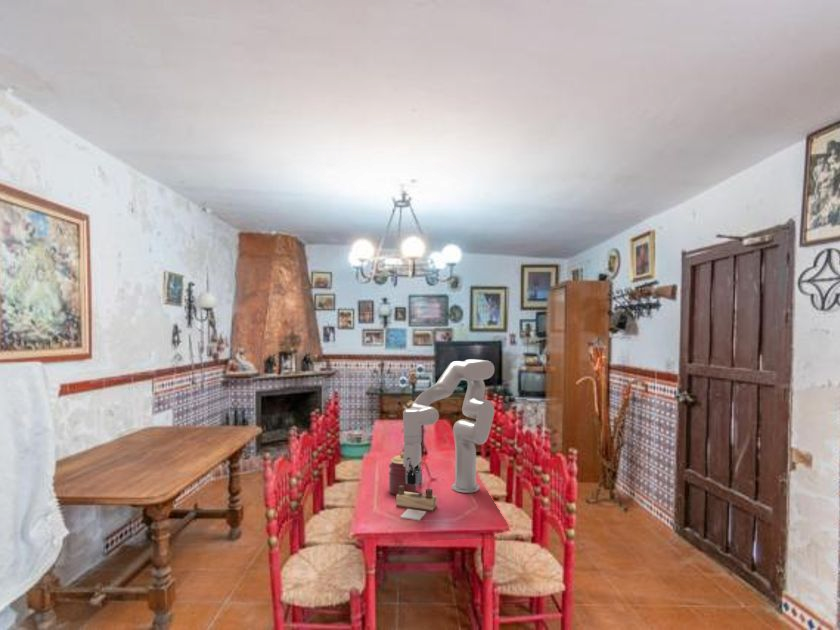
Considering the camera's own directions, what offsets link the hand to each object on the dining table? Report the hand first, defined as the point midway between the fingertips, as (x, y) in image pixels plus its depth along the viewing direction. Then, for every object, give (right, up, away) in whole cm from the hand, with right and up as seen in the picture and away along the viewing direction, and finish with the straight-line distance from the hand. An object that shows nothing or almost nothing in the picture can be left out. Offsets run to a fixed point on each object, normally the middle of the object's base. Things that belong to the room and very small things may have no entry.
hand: (413, 481), depth 196 cm
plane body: (+1, -10, -2) cm, 10 cm away
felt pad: (0, -10, -11) cm, 14 cm away
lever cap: (0, -1, 0) cm, 1 cm away
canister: (-5, -11, +16) cm, 20 cm away
